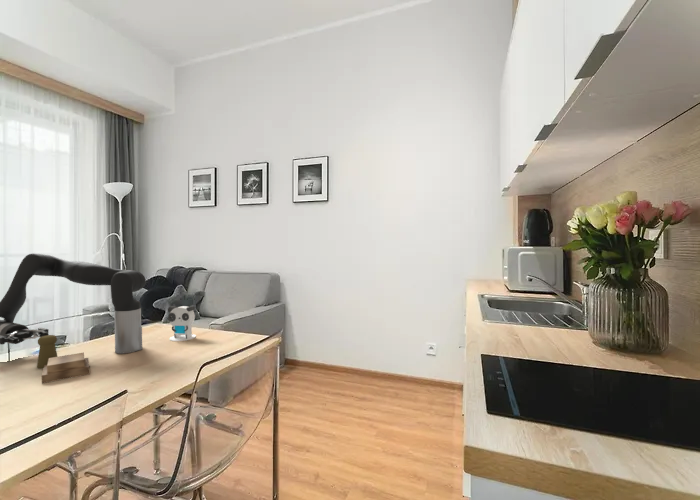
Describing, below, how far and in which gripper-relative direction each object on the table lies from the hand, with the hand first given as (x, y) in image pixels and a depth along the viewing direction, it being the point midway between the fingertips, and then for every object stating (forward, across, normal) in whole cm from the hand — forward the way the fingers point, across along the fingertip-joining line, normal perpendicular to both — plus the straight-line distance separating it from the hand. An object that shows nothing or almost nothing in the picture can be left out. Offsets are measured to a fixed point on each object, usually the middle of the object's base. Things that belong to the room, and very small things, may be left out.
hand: (31, 338), depth 128 cm
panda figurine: (+24, +46, +8) cm, 53 cm away
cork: (+12, 0, +9) cm, 15 cm away
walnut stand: (+27, -1, +8) cm, 28 cm away
